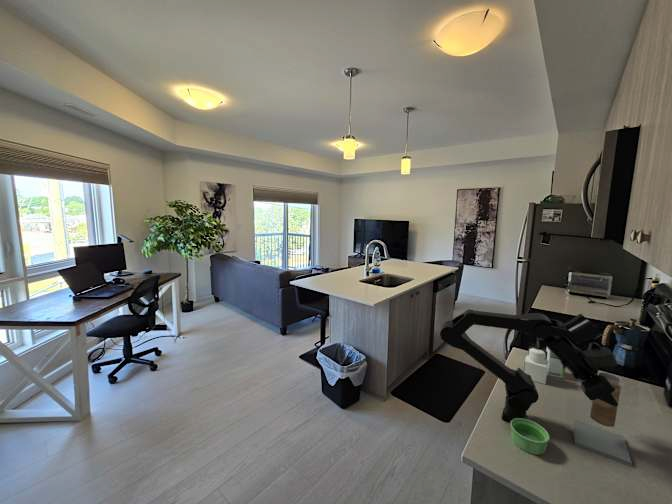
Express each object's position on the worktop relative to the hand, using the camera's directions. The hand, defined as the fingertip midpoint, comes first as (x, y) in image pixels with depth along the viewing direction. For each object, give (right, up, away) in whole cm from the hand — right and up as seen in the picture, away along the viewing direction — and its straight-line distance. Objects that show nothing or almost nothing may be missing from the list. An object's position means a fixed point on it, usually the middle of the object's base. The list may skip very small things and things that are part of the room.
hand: (612, 399), depth 77 cm
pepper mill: (-1, -6, +1) cm, 7 cm away
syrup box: (+13, -9, +37) cm, 40 cm away
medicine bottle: (+3, -9, +34) cm, 35 cm away
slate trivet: (-1, -13, +2) cm, 13 cm away
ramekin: (-22, -13, +2) cm, 26 cm away
